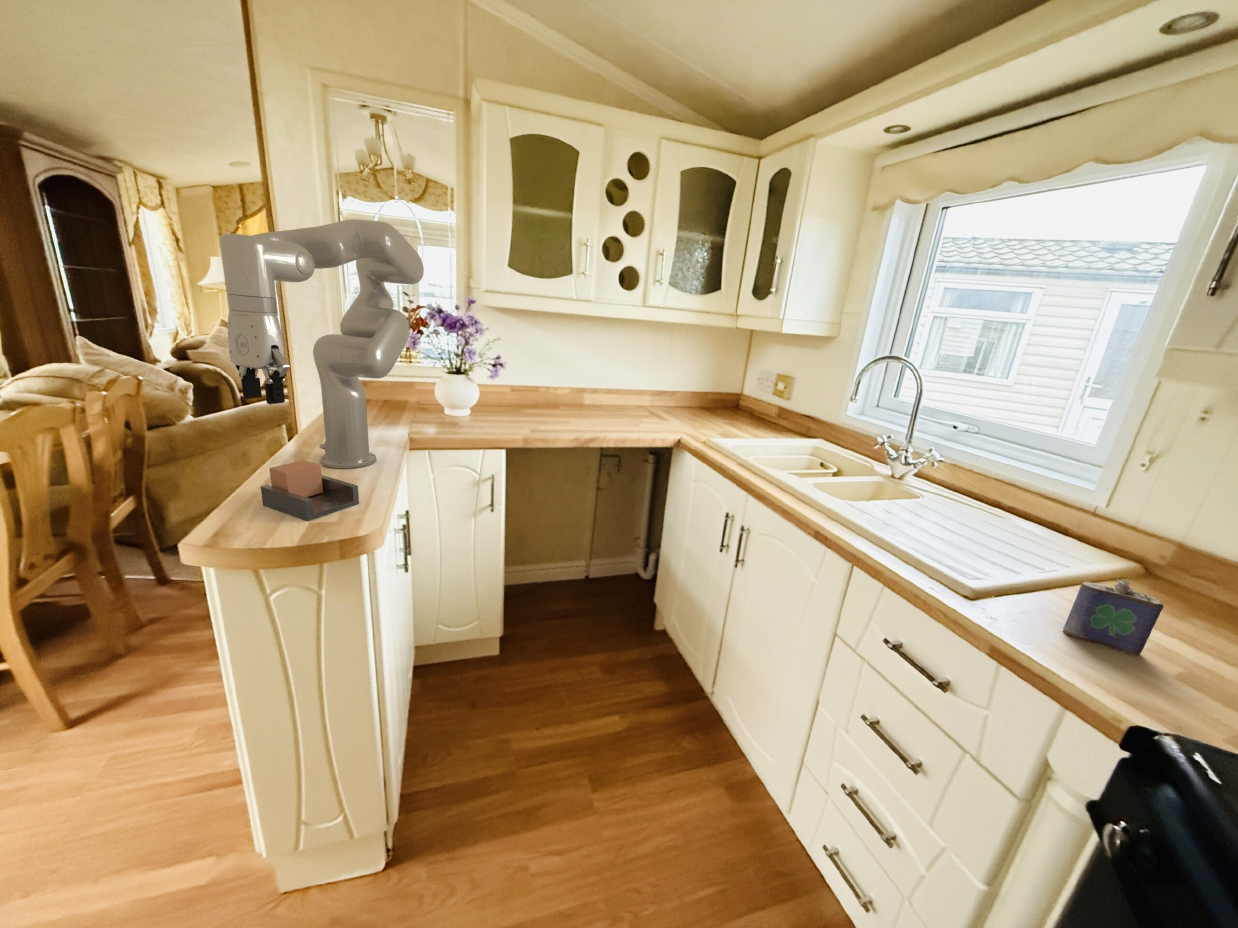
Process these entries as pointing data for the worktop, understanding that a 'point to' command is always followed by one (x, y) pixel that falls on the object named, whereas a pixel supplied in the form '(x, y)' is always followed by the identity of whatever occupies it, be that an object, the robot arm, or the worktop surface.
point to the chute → (312, 499)
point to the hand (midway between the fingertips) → (264, 399)
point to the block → (298, 478)
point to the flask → (1113, 617)
